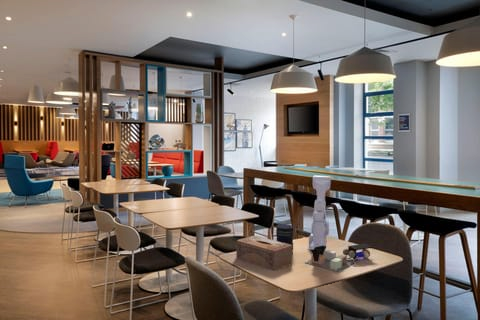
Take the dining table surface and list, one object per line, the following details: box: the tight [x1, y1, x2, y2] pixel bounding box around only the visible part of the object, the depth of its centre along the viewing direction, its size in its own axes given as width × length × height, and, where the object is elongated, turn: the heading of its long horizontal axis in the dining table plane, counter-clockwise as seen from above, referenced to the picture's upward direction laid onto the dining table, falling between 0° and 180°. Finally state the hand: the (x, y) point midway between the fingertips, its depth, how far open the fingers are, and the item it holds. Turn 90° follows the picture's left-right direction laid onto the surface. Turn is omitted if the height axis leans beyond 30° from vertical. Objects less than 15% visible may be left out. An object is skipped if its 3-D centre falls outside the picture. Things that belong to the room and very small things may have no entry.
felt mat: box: [304, 259, 356, 273], centre depth 198 cm, size 19×20×1 cm
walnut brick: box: [336, 254, 348, 266], centre depth 195 cm, size 6×3×4 cm, turn 140°
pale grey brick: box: [323, 250, 337, 260], centre depth 203 cm, size 6×3×4 cm, turn 50°
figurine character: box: [342, 243, 373, 261], centre depth 204 cm, size 7×8×15 cm
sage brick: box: [330, 258, 342, 270], centre depth 189 cm, size 6×3×4 cm, turn 140°
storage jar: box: [275, 223, 295, 255], centre depth 213 cm, size 10×10×15 cm
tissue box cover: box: [235, 235, 293, 271], centre depth 198 cm, size 26×14×10 cm, turn 47°
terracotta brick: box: [310, 253, 325, 265], centre depth 196 cm, size 6×3×4 cm, turn 50°
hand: (317, 260), depth 196 cm, fingers closed on terracotta brick, 3 cm apart
